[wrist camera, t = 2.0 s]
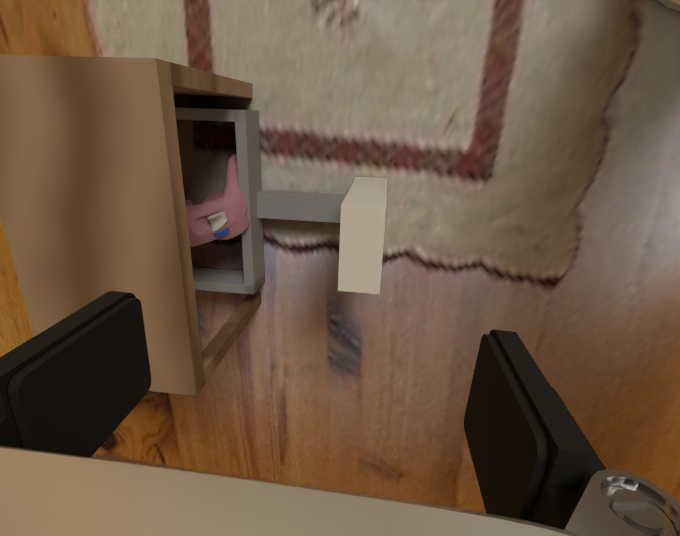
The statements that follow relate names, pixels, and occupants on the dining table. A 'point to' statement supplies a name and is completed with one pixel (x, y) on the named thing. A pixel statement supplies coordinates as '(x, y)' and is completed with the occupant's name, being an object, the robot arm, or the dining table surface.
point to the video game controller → (219, 212)
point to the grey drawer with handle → (297, 216)
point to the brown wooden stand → (107, 199)
